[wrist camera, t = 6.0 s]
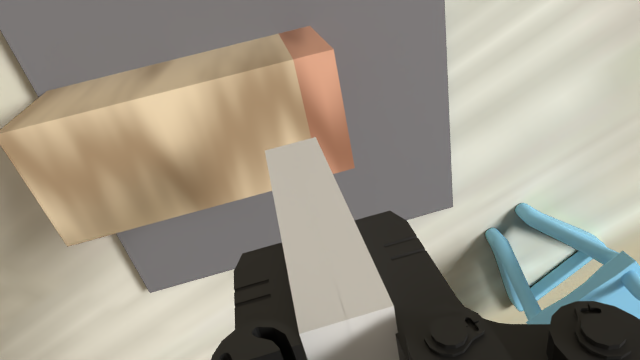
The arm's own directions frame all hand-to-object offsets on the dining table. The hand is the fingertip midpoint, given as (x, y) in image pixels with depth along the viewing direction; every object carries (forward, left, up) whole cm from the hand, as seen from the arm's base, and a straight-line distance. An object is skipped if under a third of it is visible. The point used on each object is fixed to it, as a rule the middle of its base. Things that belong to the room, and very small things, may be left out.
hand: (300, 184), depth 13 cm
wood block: (0, -3, -7) cm, 7 cm away
